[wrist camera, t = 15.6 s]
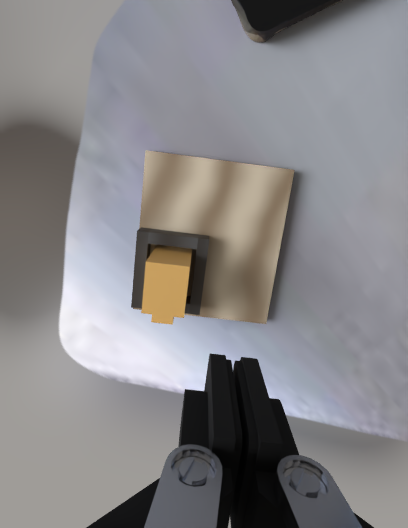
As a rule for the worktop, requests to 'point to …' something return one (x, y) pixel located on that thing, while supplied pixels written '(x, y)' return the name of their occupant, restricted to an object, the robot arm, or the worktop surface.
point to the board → (215, 230)
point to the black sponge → (275, 15)
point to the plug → (166, 283)
